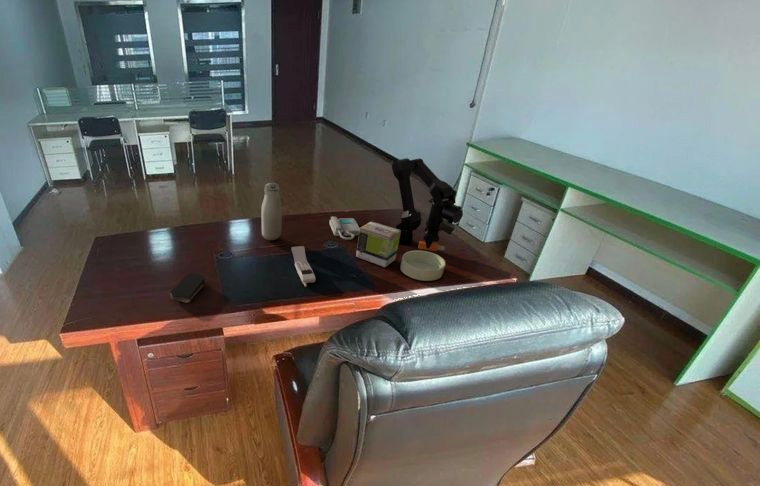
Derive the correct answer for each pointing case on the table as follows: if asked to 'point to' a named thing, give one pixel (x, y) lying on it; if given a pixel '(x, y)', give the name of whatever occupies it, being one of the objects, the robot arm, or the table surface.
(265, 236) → the white water bottle
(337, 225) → the intercom
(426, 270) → the bowl
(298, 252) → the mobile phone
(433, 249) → the knife
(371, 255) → the tea box
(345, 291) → the table surface
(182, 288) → the black sponge
